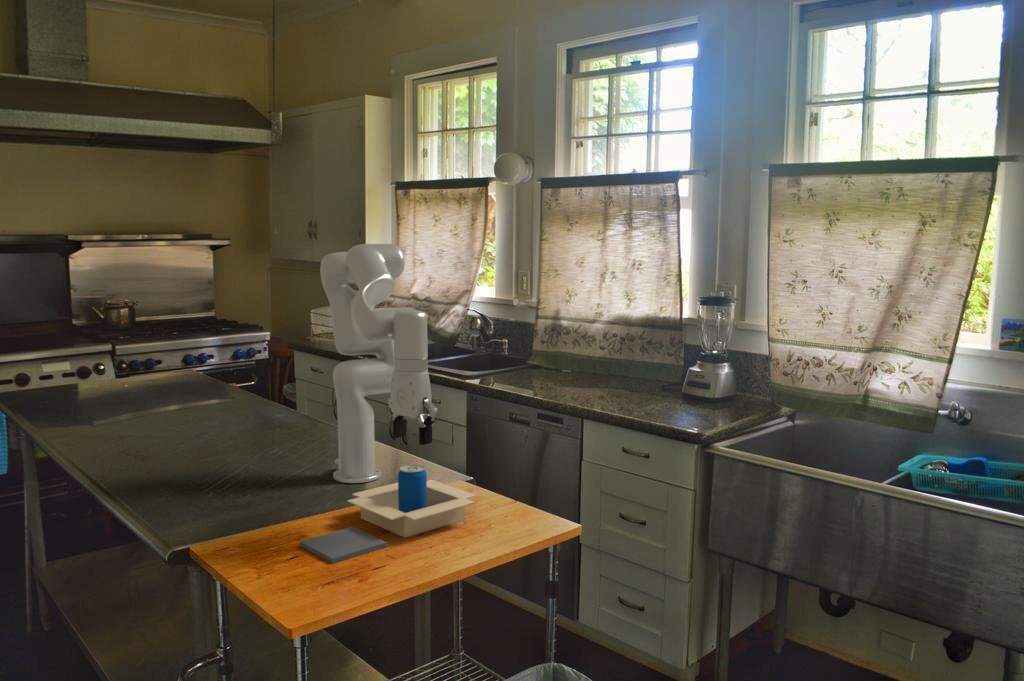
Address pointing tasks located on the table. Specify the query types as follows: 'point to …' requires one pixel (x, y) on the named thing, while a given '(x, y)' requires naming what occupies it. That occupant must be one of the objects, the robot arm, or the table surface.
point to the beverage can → (412, 488)
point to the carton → (439, 512)
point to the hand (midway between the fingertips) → (412, 440)
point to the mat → (343, 544)
